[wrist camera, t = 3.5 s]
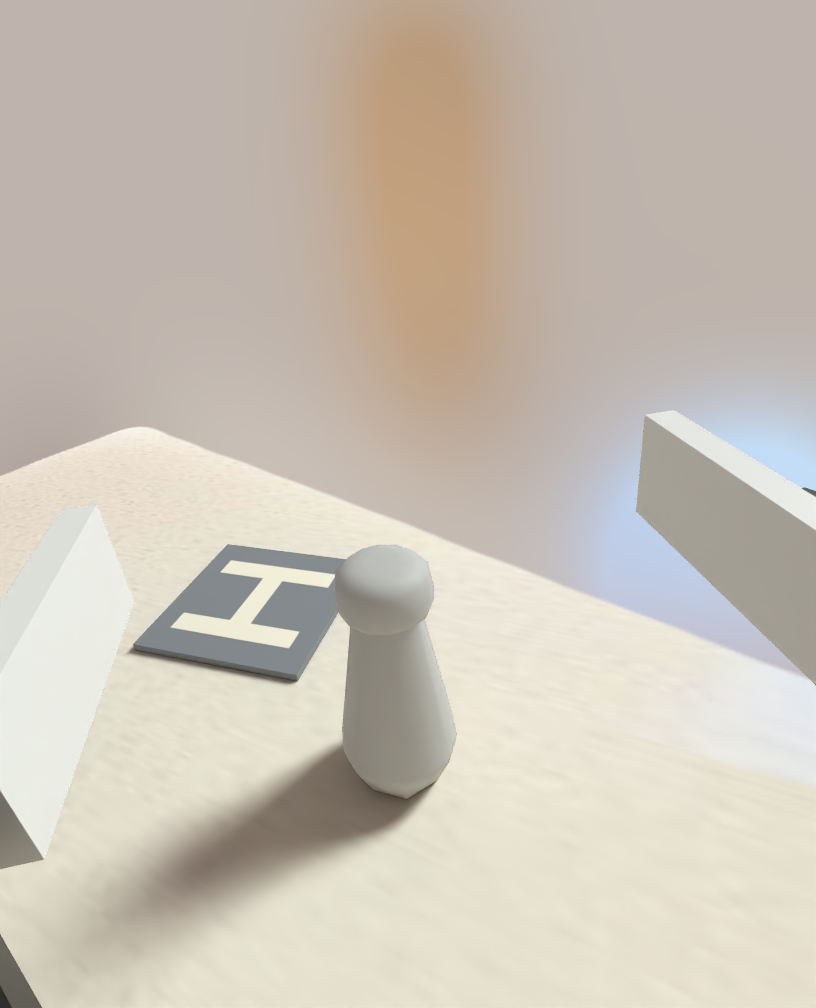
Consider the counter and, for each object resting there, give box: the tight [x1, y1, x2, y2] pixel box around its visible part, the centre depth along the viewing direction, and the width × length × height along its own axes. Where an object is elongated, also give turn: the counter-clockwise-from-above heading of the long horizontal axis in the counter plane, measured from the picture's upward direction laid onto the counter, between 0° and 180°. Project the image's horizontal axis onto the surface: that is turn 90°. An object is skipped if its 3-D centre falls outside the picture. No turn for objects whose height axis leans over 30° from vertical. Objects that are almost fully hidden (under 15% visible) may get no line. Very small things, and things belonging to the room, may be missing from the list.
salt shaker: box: [334, 545, 457, 799], centre depth 30 cm, size 6×6×13 cm
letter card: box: [133, 544, 346, 681], centre depth 45 cm, size 12×12×1 cm
